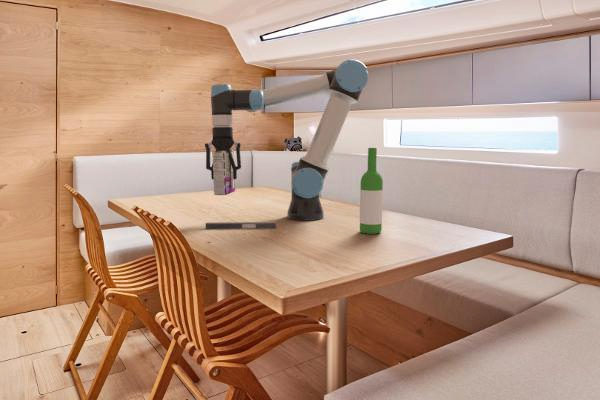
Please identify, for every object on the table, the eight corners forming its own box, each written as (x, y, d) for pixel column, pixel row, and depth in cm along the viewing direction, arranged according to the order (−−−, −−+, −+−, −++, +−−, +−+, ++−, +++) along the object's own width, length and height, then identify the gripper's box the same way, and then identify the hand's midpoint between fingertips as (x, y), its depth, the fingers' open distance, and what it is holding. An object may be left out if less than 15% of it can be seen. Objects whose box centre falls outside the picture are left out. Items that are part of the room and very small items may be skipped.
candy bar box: (223, 191, 185) (222, 149, 182) (235, 191, 184) (234, 149, 181) (213, 195, 174) (211, 151, 171) (225, 195, 173) (224, 151, 170)
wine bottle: (368, 235, 161) (369, 148, 156) (355, 231, 168) (356, 147, 163) (386, 233, 165) (388, 148, 160) (372, 229, 171) (374, 147, 167)
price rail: (276, 227, 175) (276, 222, 175) (276, 228, 173) (276, 223, 172) (206, 227, 174) (206, 222, 174) (205, 229, 172) (205, 223, 171)
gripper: (248, 126, 179) (249, 186, 183) (199, 127, 178) (201, 187, 182) (246, 126, 172) (248, 188, 175) (195, 126, 171) (198, 189, 174)
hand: (224, 187), depth 178 cm, fingers closed on candy bar box, 6 cm apart
